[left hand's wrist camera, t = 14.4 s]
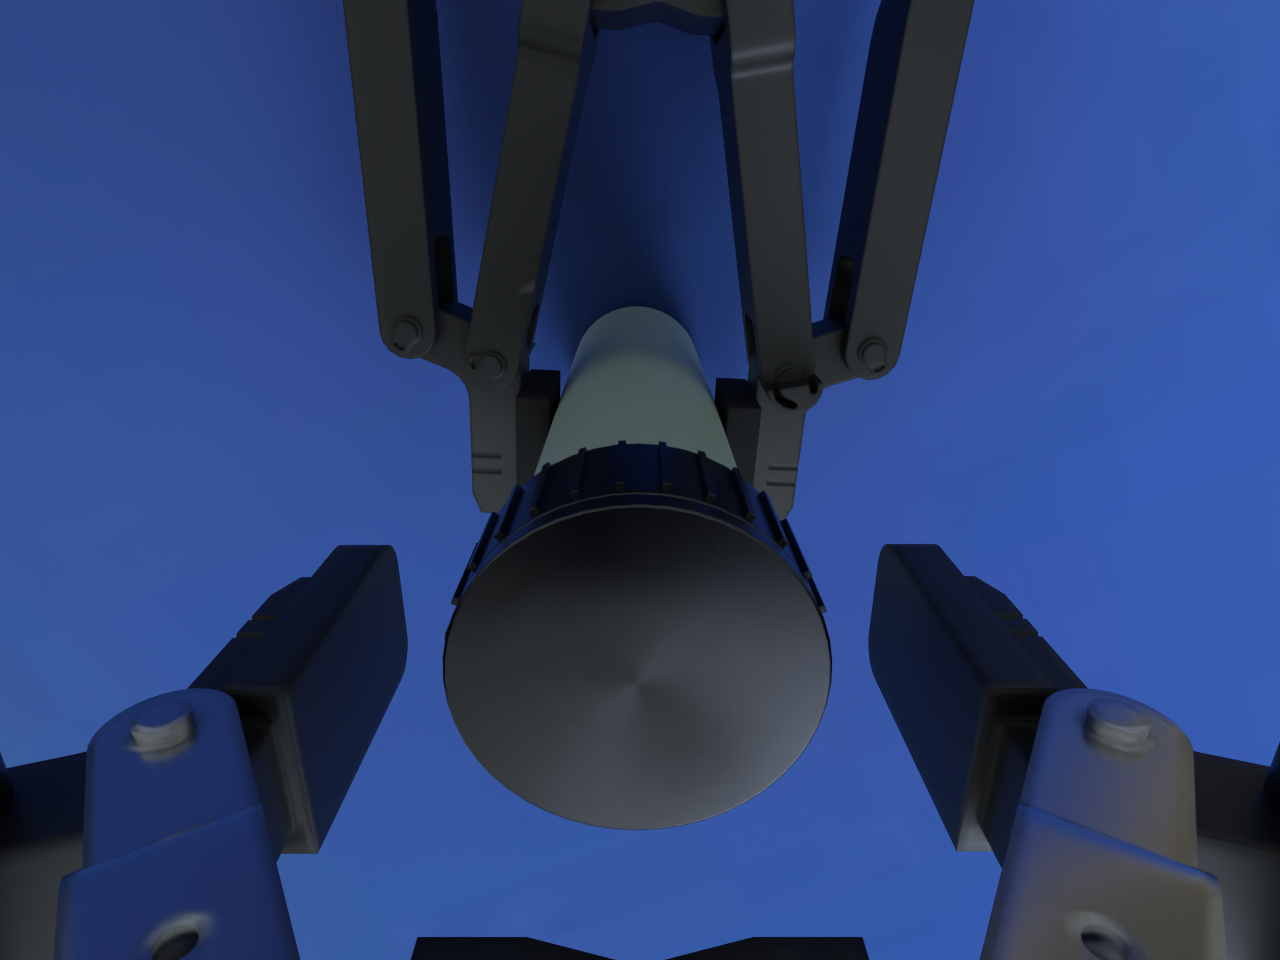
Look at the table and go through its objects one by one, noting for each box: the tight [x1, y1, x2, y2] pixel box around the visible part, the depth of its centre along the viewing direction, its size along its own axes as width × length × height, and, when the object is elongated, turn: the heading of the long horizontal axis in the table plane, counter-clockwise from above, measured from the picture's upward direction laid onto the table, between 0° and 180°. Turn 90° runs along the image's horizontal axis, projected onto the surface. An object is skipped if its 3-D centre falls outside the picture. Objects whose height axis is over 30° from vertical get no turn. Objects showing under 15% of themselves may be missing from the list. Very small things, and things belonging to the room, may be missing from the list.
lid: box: [443, 440, 832, 830], centre depth 10 cm, size 5×5×2 cm
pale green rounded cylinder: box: [534, 306, 737, 476], centre depth 17 cm, size 4×4×16 cm
